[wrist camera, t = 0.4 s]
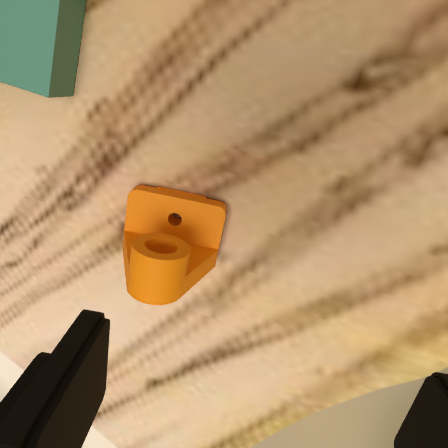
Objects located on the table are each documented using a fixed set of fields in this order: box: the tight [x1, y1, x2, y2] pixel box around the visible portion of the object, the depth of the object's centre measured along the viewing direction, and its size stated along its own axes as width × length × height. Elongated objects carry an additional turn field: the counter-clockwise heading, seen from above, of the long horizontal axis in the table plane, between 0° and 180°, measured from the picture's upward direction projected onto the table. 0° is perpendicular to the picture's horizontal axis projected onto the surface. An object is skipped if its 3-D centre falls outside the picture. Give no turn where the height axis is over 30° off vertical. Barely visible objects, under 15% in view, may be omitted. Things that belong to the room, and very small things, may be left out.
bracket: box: [123, 185, 226, 305], centre depth 36 cm, size 11×7×12 cm, turn 79°
